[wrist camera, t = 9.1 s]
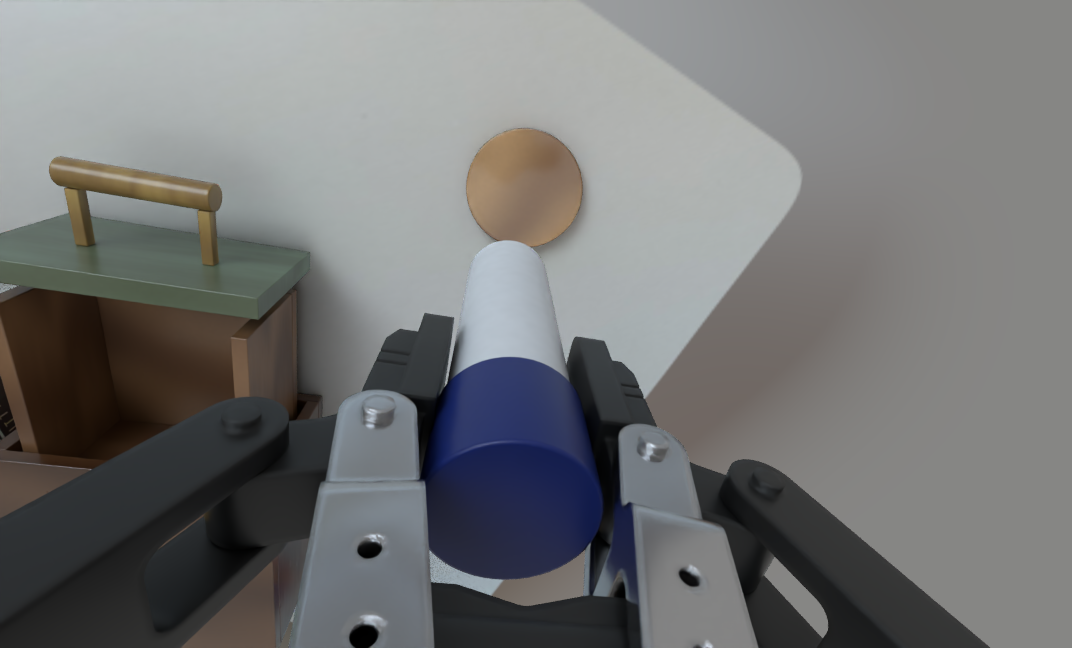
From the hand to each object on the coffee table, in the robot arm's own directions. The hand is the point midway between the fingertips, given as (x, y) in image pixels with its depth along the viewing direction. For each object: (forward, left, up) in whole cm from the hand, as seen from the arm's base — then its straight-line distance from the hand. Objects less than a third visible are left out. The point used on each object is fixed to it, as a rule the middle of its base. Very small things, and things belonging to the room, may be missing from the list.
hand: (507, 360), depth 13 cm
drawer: (-18, -10, -19) cm, 28 cm away
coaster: (+1, +1, -20) cm, 20 cm away
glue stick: (0, 0, -6) cm, 6 cm away
